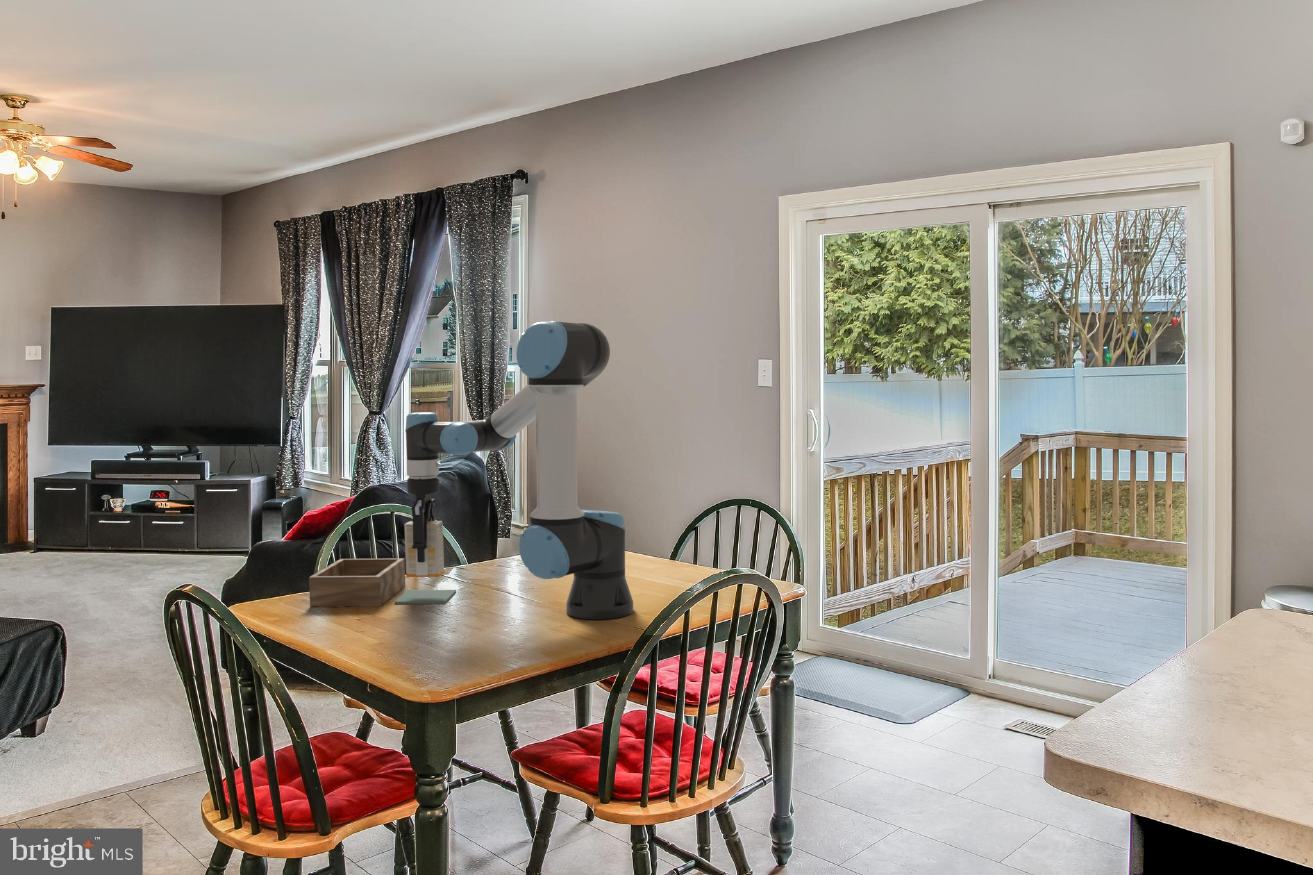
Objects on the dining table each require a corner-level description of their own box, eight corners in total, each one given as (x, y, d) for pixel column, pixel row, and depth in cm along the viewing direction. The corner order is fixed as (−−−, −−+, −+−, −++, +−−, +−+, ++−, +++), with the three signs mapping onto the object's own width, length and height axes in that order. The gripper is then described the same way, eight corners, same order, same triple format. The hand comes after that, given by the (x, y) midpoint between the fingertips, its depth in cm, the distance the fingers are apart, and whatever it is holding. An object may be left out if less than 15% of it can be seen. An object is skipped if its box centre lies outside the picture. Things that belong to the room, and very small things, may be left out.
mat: (445, 603, 228) (445, 601, 228) (394, 603, 228) (394, 601, 228) (456, 592, 240) (456, 589, 240) (407, 592, 240) (407, 590, 240)
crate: (380, 606, 226) (379, 576, 226) (309, 606, 226) (309, 577, 226) (405, 585, 248) (404, 558, 248) (341, 585, 248) (340, 558, 248)
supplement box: (444, 573, 236) (443, 520, 235) (438, 577, 231) (437, 523, 230) (412, 573, 237) (410, 520, 236) (405, 577, 232) (403, 523, 231)
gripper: (429, 481, 223) (431, 580, 225) (447, 472, 241) (448, 564, 243) (397, 481, 223) (399, 580, 225) (416, 472, 241) (419, 565, 243)
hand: (425, 572), depth 234 cm, fingers closed on supplement box, 5 cm apart
